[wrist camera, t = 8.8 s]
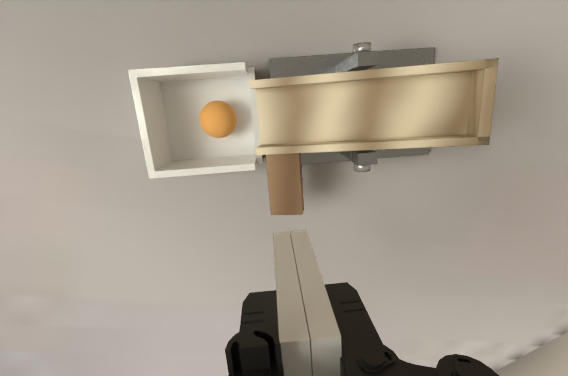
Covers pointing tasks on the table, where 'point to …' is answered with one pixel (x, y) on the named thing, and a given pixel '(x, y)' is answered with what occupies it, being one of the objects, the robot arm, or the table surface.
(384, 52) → the stand
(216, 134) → the ball
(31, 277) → the table surface
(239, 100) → the white open box
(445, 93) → the lever
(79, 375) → the table surface
